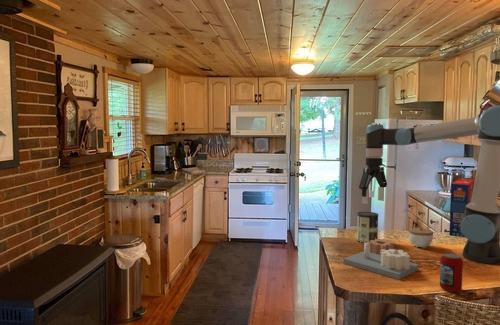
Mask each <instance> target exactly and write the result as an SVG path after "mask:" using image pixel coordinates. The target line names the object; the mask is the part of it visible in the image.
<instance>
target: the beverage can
mask: <svg viewBox="0 0 500 325" xmlns="http://www.w3.org/2000/svg"><path fill="white" fill-rule="evenodd" d="M461 256H462V255H460V254H458V253H454V252H443V253H442V255H441V257H440V265H439V267H440V268H439V269H440V270H439V287H441V288H442V290H445V291H447V292H449V293H457V292H460V291H462V288H463V268H464V267H463V265H464V263H463V259H462V257H461Z"/></svg>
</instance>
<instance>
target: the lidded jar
mask: <svg viewBox="0 0 500 325" xmlns="http://www.w3.org/2000/svg"><path fill="white" fill-rule="evenodd" d="M408 238H409V241H410V243H411V244H412V245H414V246H416V247H415V248H417V247H422V248H421V249H425V248H424V247H427V248H428V247H429V246H430V245H431V244H432V242H433V239H434V231H433V230H431V229H428V228H423V227H422V226H420V227H411V228H409V229H408Z"/></svg>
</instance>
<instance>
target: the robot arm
mask: <svg viewBox="0 0 500 325" xmlns="http://www.w3.org/2000/svg"><path fill="white" fill-rule="evenodd" d="M365 132H366V133H365V135H366V136H365V138H366V139H365V141H366V142H365V143H366V144H365V145H366V146H365V148H366V149H365V157H366V158H365V166H367V167H364V168H363V170H362V176H361V179H360V182H359V184H358V185H359V186H358V188H359V189H360V190H361V204H365V205H368V204H369V189H368V188H369V186H370V183H371V182H372V179H374V178H375V180H376V182H377V184H378V188H377V190H378V191H377V201H381V202H383V201H385V188H387V185H388V182H387V179H386V174H385V167H384V166H383V158H382V157H383V155H384V152H383V151H384V146H410V145H412V144H413V145H414V144H420V143H427V142H436V141H442V140H443V141H444V140H448V139H455V138H465V137H471V136H478V137H477V140H478V141H479V142H480V150H479V155H478V160H477V166H476V172H475V177H474V180H475V182H474V188H473V193H472V199H471V202H470V203H469V204H467V205H466V208H465V213H464V218H463V220H462V222H461V225H460V228H461V232H462V234H463V235H464V237H463V238H465V239H466V241H465V244H464V247H463V249H462V257H463V258H465V259H466V260H469V261H472V262H477V263H483V264H490V265H491V264H492V265H493V264H494V265H496V264H497V265H498V264H500V207H498V206H497V202H498V198H499V197H498V196H499V192H500V105H497V104H496V105H493V106H490V107H488V108H486V109H485V110H484V111H482V113H478V114H477V116H475V117H470V118H464V119H463V118H462V119H457V120H451V121H446V122H440V123H439V122H438V123H433V124H427V125H421V126H416V127H410V128H409V127H408V128H404V127H401V128H400V127H399V128H396V127H395V128H385V127H384V125H383V124H368V125H367V126H366V131H365Z"/></svg>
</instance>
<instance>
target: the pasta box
mask: <svg viewBox="0 0 500 325" xmlns="http://www.w3.org/2000/svg"><path fill="white" fill-rule="evenodd" d="M474 182H475V179H462V178H458V179H456V180H455V181H453V182H452V183H450V199H451V205H450V213H449V231H448V232H449V236H451V237H458V238H465V237H464V235H463V234H462V232H461V228H460V225H461V222H462V220H463V218H464V213H465V208H466V205H467V204H469V203H470V202H471V199H472V193H473V188H474Z"/></svg>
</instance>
